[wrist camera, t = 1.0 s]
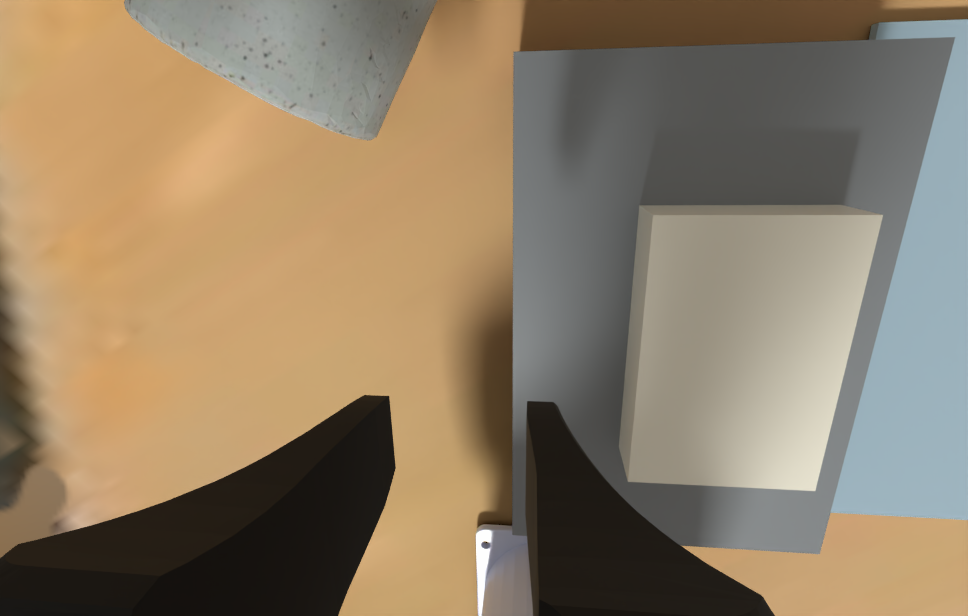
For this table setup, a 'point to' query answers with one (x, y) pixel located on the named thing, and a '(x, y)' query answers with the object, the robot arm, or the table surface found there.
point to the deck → (696, 181)
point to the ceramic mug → (299, 51)
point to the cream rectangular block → (740, 340)
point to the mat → (921, 329)
